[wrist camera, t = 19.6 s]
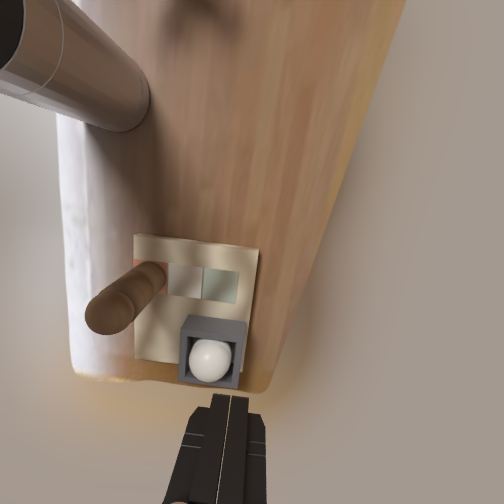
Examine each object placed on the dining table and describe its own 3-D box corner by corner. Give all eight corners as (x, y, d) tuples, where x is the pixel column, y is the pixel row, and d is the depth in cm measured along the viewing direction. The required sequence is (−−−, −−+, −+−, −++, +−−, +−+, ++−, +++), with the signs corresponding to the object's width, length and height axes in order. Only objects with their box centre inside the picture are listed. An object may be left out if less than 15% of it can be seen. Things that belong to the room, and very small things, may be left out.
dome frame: (185, 362, 40) (177, 381, 37) (188, 314, 38) (180, 329, 34) (239, 369, 40) (237, 389, 37) (246, 321, 38) (244, 337, 34)
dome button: (194, 359, 39) (182, 389, 34) (196, 326, 38) (184, 352, 32) (231, 363, 39) (225, 395, 33) (234, 331, 38) (230, 358, 32)
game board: (139, 352, 42) (134, 359, 40) (138, 233, 36) (132, 235, 35) (243, 365, 42) (242, 373, 40) (258, 248, 36) (258, 251, 35)
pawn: (134, 290, 37) (76, 344, 25) (132, 260, 36) (69, 301, 23) (166, 292, 37) (123, 346, 25) (165, 262, 36) (119, 303, 23)
